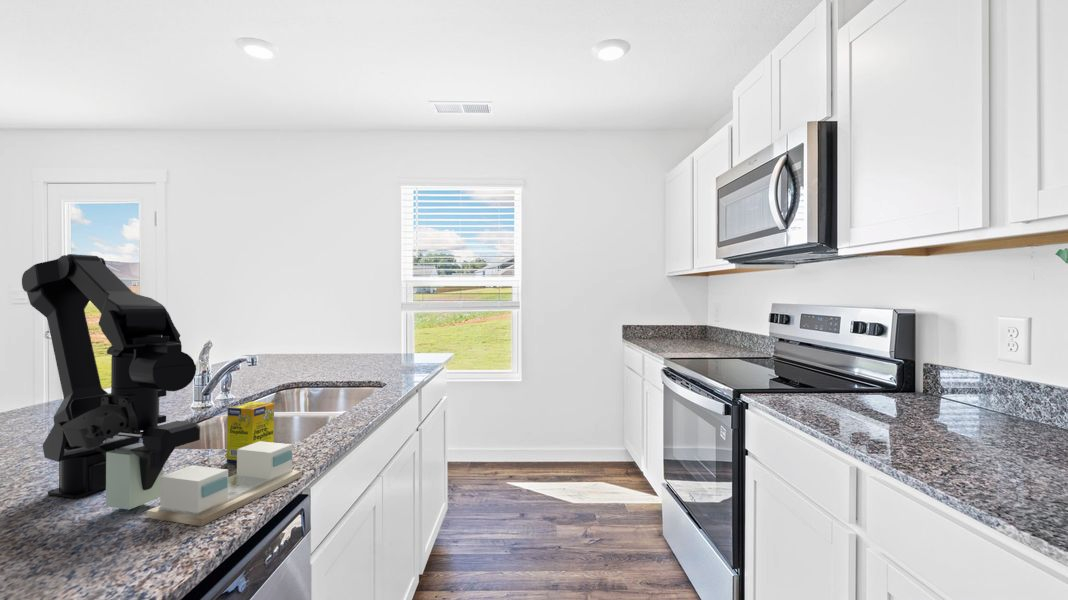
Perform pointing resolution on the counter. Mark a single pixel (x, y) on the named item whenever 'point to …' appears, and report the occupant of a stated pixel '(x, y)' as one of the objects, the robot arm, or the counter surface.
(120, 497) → the loose module
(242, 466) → the mounted modules
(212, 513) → the mounting panel
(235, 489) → the grey flat piece
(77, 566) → the counter surface
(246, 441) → the supplement box
